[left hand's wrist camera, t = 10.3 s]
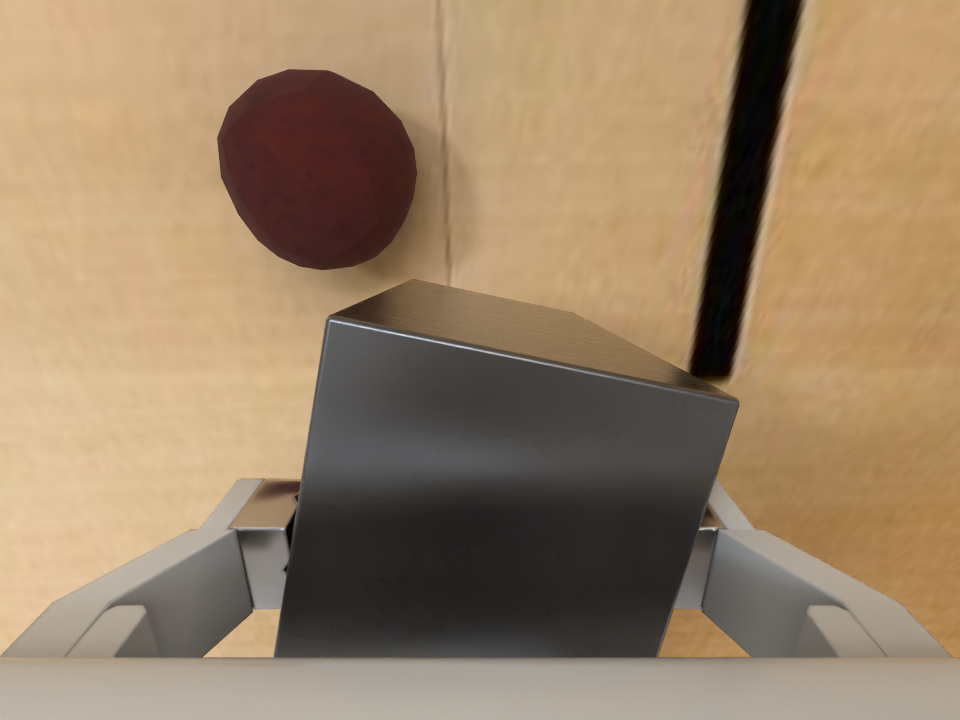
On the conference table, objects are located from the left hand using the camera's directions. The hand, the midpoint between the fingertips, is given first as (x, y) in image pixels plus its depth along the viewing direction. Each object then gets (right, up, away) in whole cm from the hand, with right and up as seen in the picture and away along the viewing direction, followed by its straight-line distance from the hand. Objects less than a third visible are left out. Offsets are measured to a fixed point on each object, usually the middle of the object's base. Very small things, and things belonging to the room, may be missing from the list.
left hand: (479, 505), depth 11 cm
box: (-2, -6, +10) cm, 12 cm away
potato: (-6, +12, +14) cm, 19 cm away
